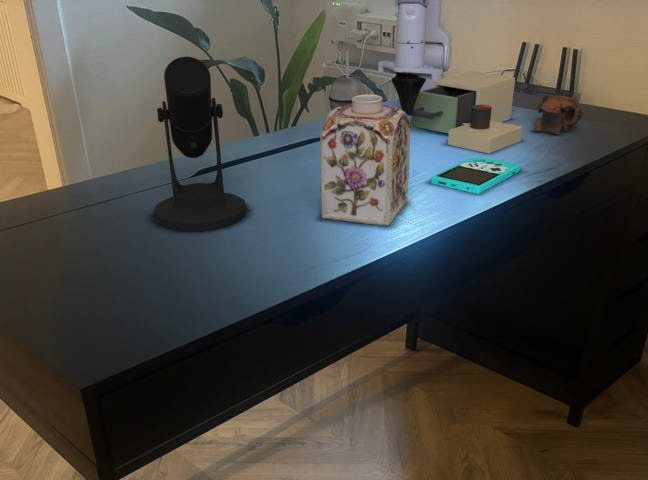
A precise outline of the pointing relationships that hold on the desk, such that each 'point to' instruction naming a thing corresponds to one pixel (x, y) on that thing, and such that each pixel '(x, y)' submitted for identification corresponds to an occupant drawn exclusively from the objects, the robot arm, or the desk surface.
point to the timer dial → (480, 116)
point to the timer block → (485, 137)
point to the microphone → (194, 151)
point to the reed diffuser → (345, 88)
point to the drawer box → (486, 91)
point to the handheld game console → (475, 174)
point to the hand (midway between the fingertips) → (407, 112)
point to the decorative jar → (364, 161)
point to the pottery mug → (558, 114)
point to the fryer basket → (443, 108)
